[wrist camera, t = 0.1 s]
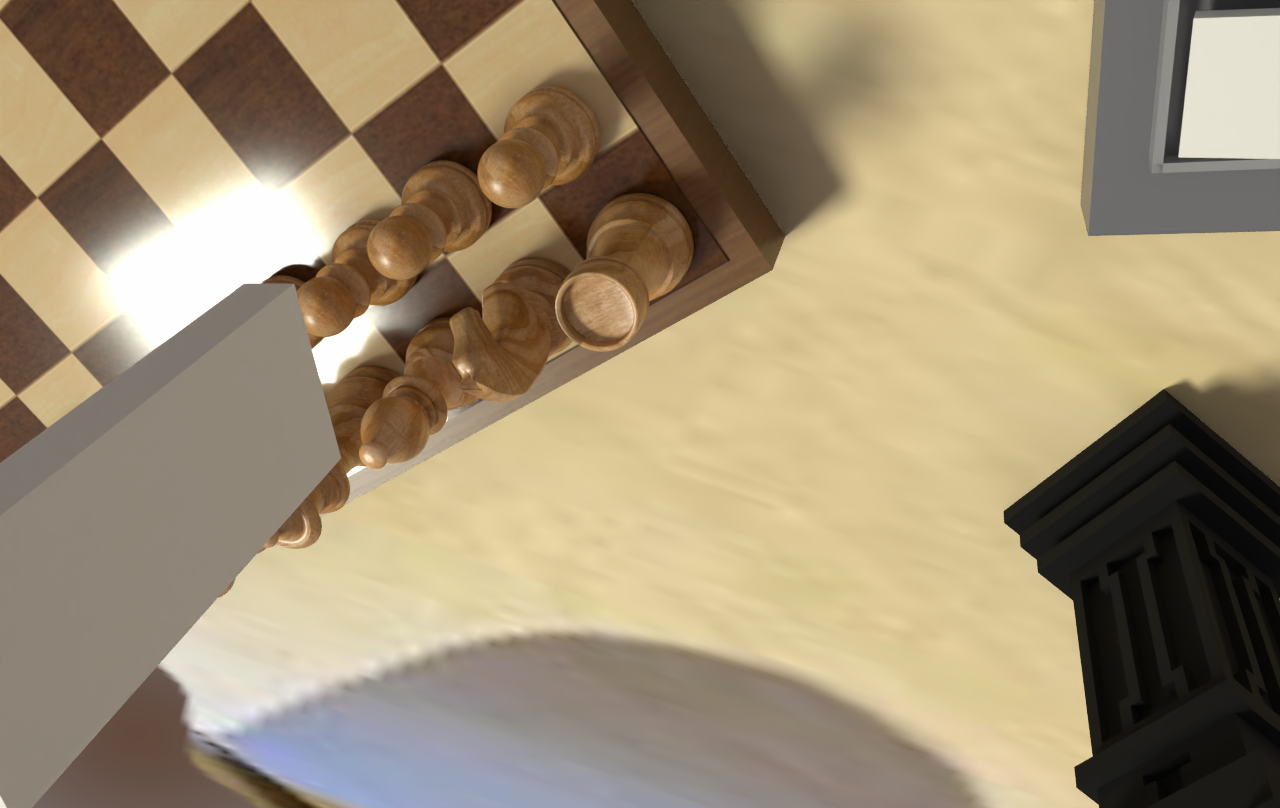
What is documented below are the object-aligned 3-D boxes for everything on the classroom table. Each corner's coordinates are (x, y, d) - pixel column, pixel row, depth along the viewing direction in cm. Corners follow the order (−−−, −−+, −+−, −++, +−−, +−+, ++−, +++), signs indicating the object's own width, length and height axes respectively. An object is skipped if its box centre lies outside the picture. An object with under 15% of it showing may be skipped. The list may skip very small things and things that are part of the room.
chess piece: (1163, 389, 42) (1296, 819, 25) (1314, 517, 43) (1538, 1012, 26) (1003, 511, 46) (1024, 948, 29) (1144, 625, 47) (1242, 1110, 30)
